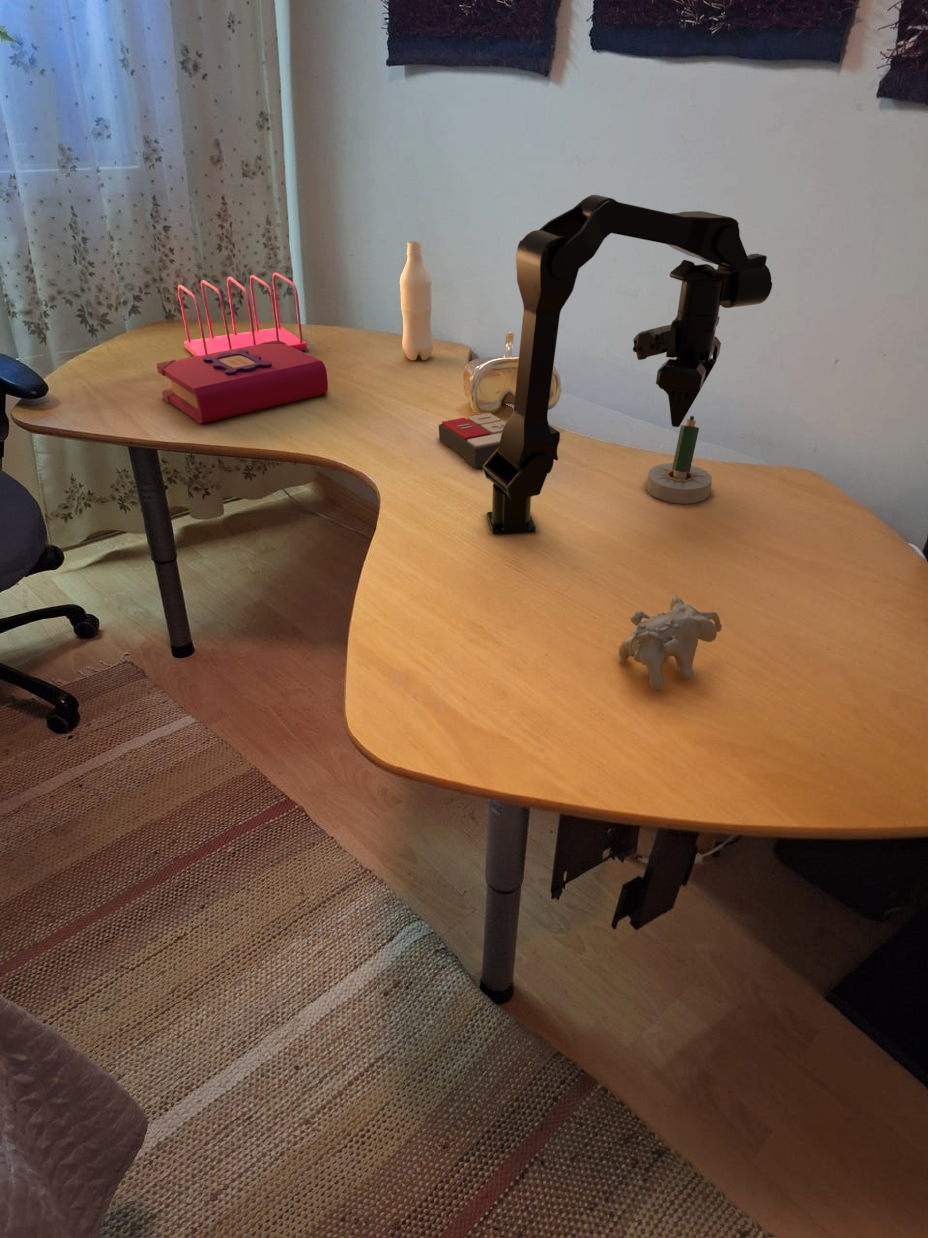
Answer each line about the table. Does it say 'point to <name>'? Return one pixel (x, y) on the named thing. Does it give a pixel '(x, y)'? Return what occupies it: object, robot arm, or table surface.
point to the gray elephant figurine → (669, 639)
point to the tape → (678, 484)
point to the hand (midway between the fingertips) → (681, 416)
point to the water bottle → (416, 305)
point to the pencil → (685, 449)
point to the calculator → (473, 437)
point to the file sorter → (235, 339)
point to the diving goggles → (499, 381)
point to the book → (242, 380)
